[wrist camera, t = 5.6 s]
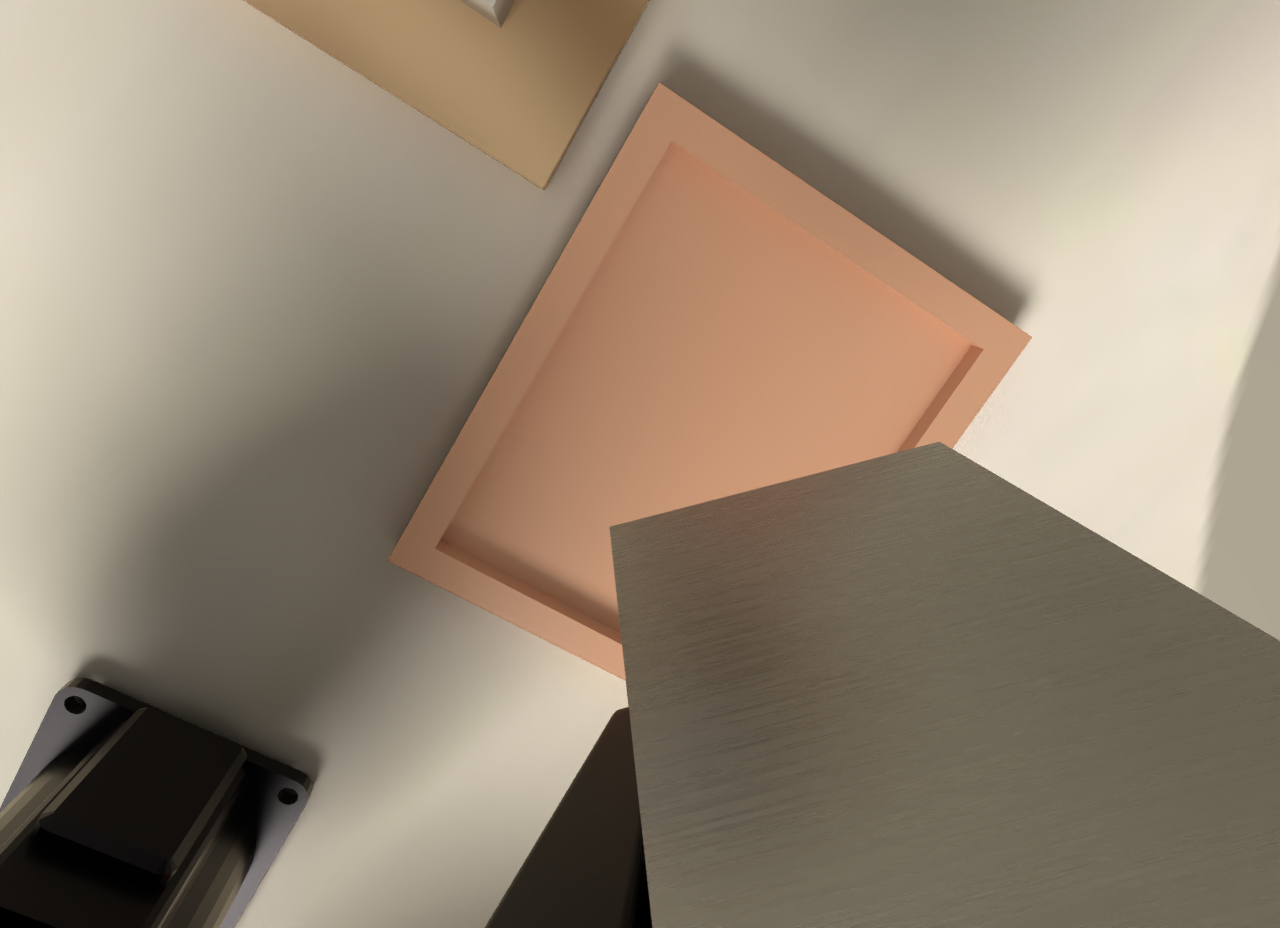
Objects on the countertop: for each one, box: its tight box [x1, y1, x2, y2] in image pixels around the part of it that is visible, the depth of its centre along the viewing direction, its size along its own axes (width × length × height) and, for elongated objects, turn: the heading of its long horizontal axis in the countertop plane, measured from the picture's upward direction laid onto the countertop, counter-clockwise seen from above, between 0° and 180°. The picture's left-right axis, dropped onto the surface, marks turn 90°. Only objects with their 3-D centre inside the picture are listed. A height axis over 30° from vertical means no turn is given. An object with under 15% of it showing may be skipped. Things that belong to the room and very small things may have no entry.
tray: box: [387, 83, 1032, 681], centre depth 19 cm, size 12×10×1 cm
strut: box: [609, 442, 1280, 928], centre depth 7 cm, size 4×4×7 cm
